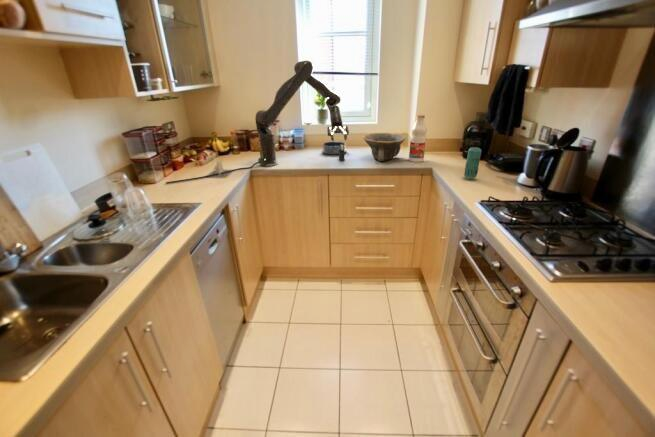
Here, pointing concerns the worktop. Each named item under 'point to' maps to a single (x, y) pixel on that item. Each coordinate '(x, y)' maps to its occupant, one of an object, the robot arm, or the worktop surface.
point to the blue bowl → (333, 147)
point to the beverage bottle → (473, 160)
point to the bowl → (384, 145)
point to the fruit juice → (418, 140)
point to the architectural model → (219, 170)
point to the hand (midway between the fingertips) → (339, 140)
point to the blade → (341, 153)
